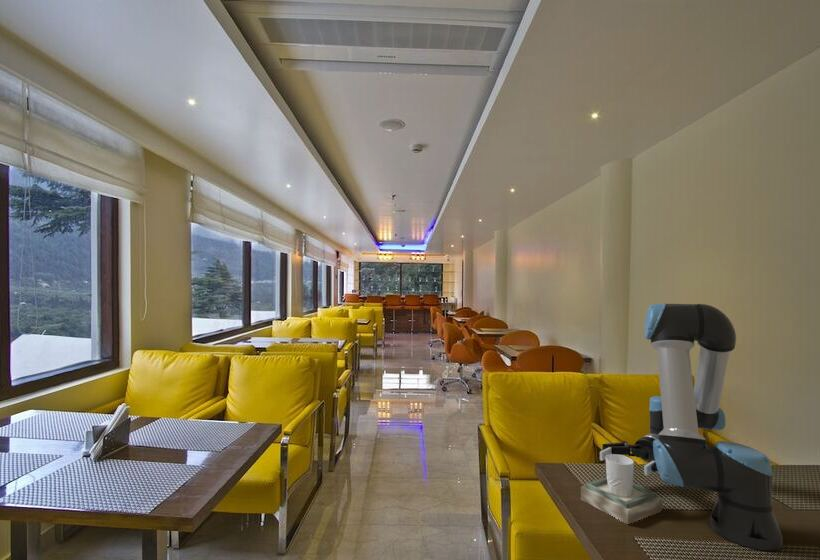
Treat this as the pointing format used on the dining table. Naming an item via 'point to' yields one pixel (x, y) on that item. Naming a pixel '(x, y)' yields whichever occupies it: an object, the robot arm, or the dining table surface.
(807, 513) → the dining table surface
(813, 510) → the dining table surface
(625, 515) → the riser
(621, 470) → the white cup
